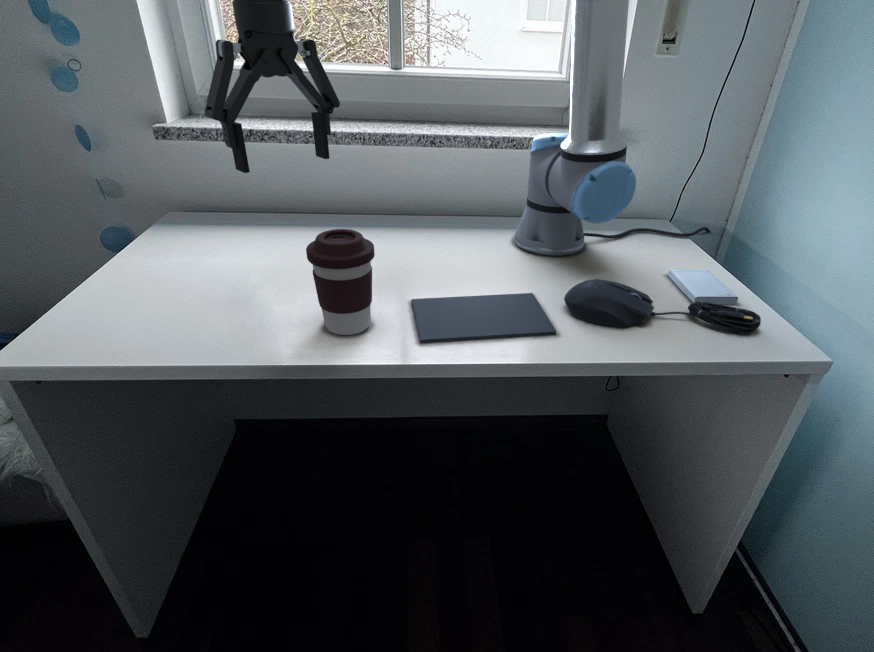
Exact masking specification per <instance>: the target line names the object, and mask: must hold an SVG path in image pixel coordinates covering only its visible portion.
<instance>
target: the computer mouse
mask: <svg viewBox="0 0 874 652" xmlns="http://www.w3.org/2000/svg"><path fill="white" fill-rule="evenodd" d="M563 299H564V303H565V305H566V308H567V309H568V311H569V312H570V313H571V314H572V315H573V316H574V317H575V318H578V319H580V320H582V321H585V322H588V323H591V324H596V325H603V326H609V327H617V328H628V327H631V326H640V325H642V323H643V322H644V321H646V319H648V318H649V317H655V316H665V315H687V316H690V317H693V318H696V319H699V320H701V321H702V322H704V323H707V324H710V325H712V326H714V327H717V328H720V329H724V330H727V331H730V332H733V333H736V334H751V333H753V332H755V331H757V330H758V329H759V327H760V326H761V323H762V322H761V321H762V319H761V316H760V315H759V314H758V313H757V312H755V311H752V310H749V309H745V308H740V307H734V306H729V305H726V304H713V303H709V302H699V301H696V302H695V303H693V302H691V303H690V304H689V305H688V306H687V311H688V312H686V311H665V312H655V311H654V308H655V306H653V303H654V301H653V300H652V298H651V297H650V296H649V294H647V293H644V292H643V291H641V290H638V289H637V288H634V287H631V286H629V285H626V284H624V283H621V282H616V281H612V280H607V279H600V278H592V279H587V280H584V281H581V282H579V283H577V284H575V285H574V286H572V287H571V288H570V289H569V290H568V291H567V292H566V293H565V294H564V297H563Z"/></svg>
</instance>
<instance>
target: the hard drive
mask: <svg viewBox="0 0 874 652" xmlns="http://www.w3.org/2000/svg"><path fill="white" fill-rule="evenodd" d="M667 276H668V277H669V279H670V280H671V281H672V282H673V284H675V285H676V287H678V288H679V289H680V291H681V292H682V293H683V294H684V295H685V296H686V297H687V298H688V299H689V300H690V301H691V303H695V302H696V301H699V302H709V303H713V304H719V305H736V304H737V303H738V301H739V296H738V295H736V294H735V293H734V292H733V291H732V290H731V289H730V288H729V287H727V286H726V285H725V284H724V283H723V282H722V281H721V280H720V279H719V278H718V277H717V276H716V275H714V273H712V272H711V271H710V270H709V269H707V268H672V269H668V271H667Z"/></svg>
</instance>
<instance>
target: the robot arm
mask: <svg viewBox="0 0 874 652" xmlns="http://www.w3.org/2000/svg"><path fill="white" fill-rule="evenodd" d="M629 3H630V0H572V14H571V15H572V16H571V20H572V21H571V55H570V56H571V58H570V59H571V60H570V61H571V63H570V65H571V66H570V101H569V102H570V103H569V104H570V105H569V133H568V132H555V133H554V132H553V133H539V134H537V135H536V136H535V137H534V138H533V140H532V143H531V148H530V149H531V150H530V152H529V155H530V157H529V169H528V179H527V190H526V191H527V193H526V202H525V208H524V211H523V213H522V215H521V217H520V220H519V223H518V224H517V226H516V229H515V233H514V243H515V245H516V246H517V247H518V248H520V249H522V250H525V251H526V252H529V253H532V254H537V255H542V256H551V257H557V256H558V257H560V256H568V255H573V254H576V253H579V252H581V251H582V249H583V248H584V244H585V237H591V238H592V237H593V238H601V239H602V238H603V239H617V238H621V237H624V236H626V235H628V234H631V233H636V232H649V233H655V234H656V233H657V234H662V235H666V236H673V237H692V236H695V235H698V234H699V233H700V232H703V231H705V232H706V233H708V234H711V233H712V232H711V230H710V229H709V228H708V227H706V226H702V227H699V228H698V229H696V230H694V231H692V232H686V233H682V232H681V233H680V232H673V231H667V230H663V229H656V228H650V227H649V228H647V227H637V228H631V229H628V230H625V231H623V232H621V233H616V234H602V233H593V232H584V228H583V222H582V220H583V221H585V222H587V223H589V224H594V225H596V224H598V225H599V224H604V223H608V222H610V221H612V220H615V219H616V218H618V217H619V216H620V215H621V214H622V212H623V211H624V210H625V209H627V208H628V206H629V205H630V203H631V202H632V200H633V198H634V195H635V193H636V188H637V177H636V174H635V172H634V170H633V169H632V167H631V166H630V165H629V164H628V163H626V162H627V161H626V160H627V150H628V148H627V147H628V141H627V140H626V138H624V137H623V135H621V133H620V125H621V114H622V100H623V86H624V84H623V83H624V71H625V60H626V59H625V57H626V44H627V31H628V17H629ZM231 4H232V10H233V17H234V22H235V28H236V30H237V34H238V39H237V42H232V41H230V40H227V39H217V40H216V41H215V53H216V61H215V65H214V69H213V73H212V78H211V82H210V87H209V90H208V95H207V99H206V104H205V107H204V108H205V109H204V112H203V113H204V116H205V117H206V118H208V119H211V120H214V121H218V122H219V123H220V125H221V129H222V135H223V141H224V144H225V146H226V147H227V148H228V149H231V150H232V151H231V152H232V155H233V161H234V167H235V170H237V171H239V172H241V173H244V174H247V173H250V171H251V170H250V166H249V165H250V164H249V160H248V159H249V158H248V154H247V150H246V143H245V137H244V131H243V126H242V123H240V122H237V119H238V117H239V115H240V113H241V111H242V109H243V107H244V105H245V104H246V101H247V99H248V98H249V96H250V94H251V92H252V90H253V88H254V86H255V84H256V83H257V82H258V81H259V80H260V79H261V78H267V79H268V78H273V77H283V78H284V77H288V78H289V80H290V81H291V82H292V83H293V85H294V86H295V87H296V88H297V89H298V90H299V91H300V92H301V94H302V95H303V96H304V97H305V99H306V100H307V101H308V102H309V103H310V105H311V106H312V107H313V108H314V109H315V110H316V111H312V112H311V113H310V115H311V121H312V123H311V124H312V131H313V132H312V133H313V141H314V150H315V151H314V152H315V157H317V158H321V159H323V160H330V149H329V139H328V136H330V135H331V133H332V128H331V116H330V115H332V114H333V113H334V109H338V108H339V107H340V105H341V102H340V99H339V97H338V95H337V93H336V91H335V89H334V87H333V85H332V83H331V80H330V79H329V76H328V74H327V72H326V70H325V69H324V66H323V64H322V62H321V60H320V58H319V54H318V48H317V44H316V41H315V40H314V39H311V38H301V39H300V40H297V41H296V39H295V35H294V34H295V22H294V12H293V5H292V3H291V1H290V0H232V1H231ZM238 55H240V56H241V58H242V59H243V60H244V61H243V63H242V65H241V67H240V69H239V71H238V72H239V73H238V76H237V78H236V80H235V82H234V84H233V86H232V88H231V90H230V92H228V91H229V89H230V88H229V87H230V83H231V81H232V80H231V79H232V75H233V71H234V66H235V61H236V60H237V58H238ZM297 55H299V56H300V57H301V58H302V61H303V63H304V65H305V67H306V70H307V71H308V73H309V75H310V77H311V78H312V81H313V83H314V84H313V83H312V82H311V81H310V80H309V79H308V77H307V76H306V75H305V73H304V71H303V69H302V67H300V65H299V64H298V63H297V61H296V57H297ZM314 85H315V86H314ZM228 93H229V94H228Z"/></svg>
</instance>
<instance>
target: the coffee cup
mask: <svg viewBox="0 0 874 652" xmlns="http://www.w3.org/2000/svg"><path fill="white" fill-rule="evenodd" d="M305 252H306V259H307V261H308V262H309V263H310V264H311V265H312V276H313V282H314V286H315V290H316V291H315V292H316V295H317V300H318V304H319V307H320V309H321V313H322V317H323V323H324V327H325V328H326V330H327V331H329V332H330V333H332V334H334V335H339V336H353V335H357V334H360V333H362V332H364V331H366V330H367V329H368V328H369V327H370V325H371V320H372V319H371V316H372V315H371V314H372V313H371V305H372V303H373V301H372V300H373V266H372V260H374V258H375V255H376V254H375V245H374V243H373V242H372V241H371V240H369V239H367V238H365V237H364V236H363V234H362V233H361V232H359V231H357V230H354V229H350V228H349V229H348V228H334V229H329V230H324V231H322V232H320V233H318V234H317V235H316V237H315V240H312V241H311V242H309V244H307V246H306V248H305Z"/></svg>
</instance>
